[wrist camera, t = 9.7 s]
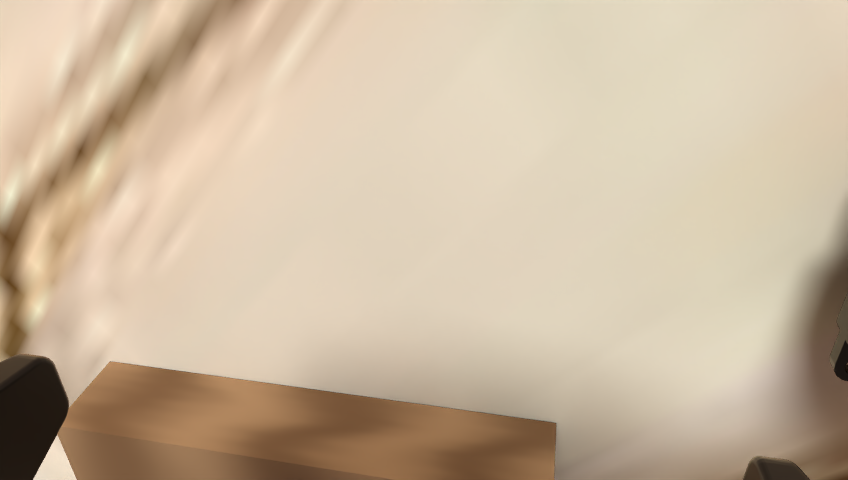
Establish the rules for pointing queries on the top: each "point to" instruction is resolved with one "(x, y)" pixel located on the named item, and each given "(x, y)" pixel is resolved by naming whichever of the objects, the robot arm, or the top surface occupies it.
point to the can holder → (285, 434)
